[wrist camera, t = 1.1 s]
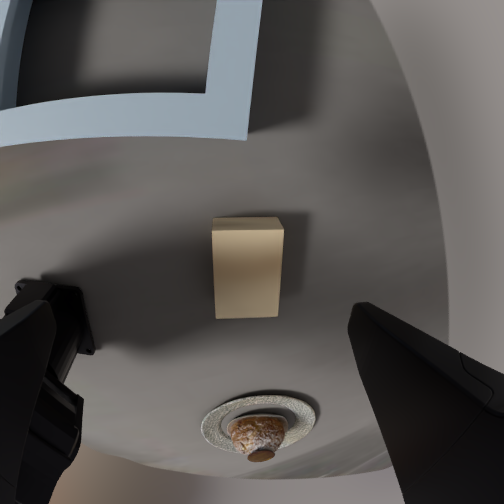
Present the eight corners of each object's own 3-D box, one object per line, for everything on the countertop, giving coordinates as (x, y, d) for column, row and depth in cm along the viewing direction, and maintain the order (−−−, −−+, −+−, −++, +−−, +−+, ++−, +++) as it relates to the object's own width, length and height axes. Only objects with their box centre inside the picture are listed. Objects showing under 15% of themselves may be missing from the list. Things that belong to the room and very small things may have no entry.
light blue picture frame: (240, 135, 17) (246, 140, 13) (10, 141, 15) (-29, 151, 11) (261, -39, 12) (272, -72, 8) (31, -14, 10) (0, -30, 6)
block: (272, 295, 22) (277, 316, 20) (216, 297, 22) (215, 318, 19) (276, 215, 19) (283, 229, 17) (213, 216, 19) (211, 230, 17)
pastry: (209, 380, 25) (210, 422, 21) (331, 388, 28) (344, 424, 24) (195, 442, 30) (194, 475, 26) (292, 446, 32) (298, 476, 28)
